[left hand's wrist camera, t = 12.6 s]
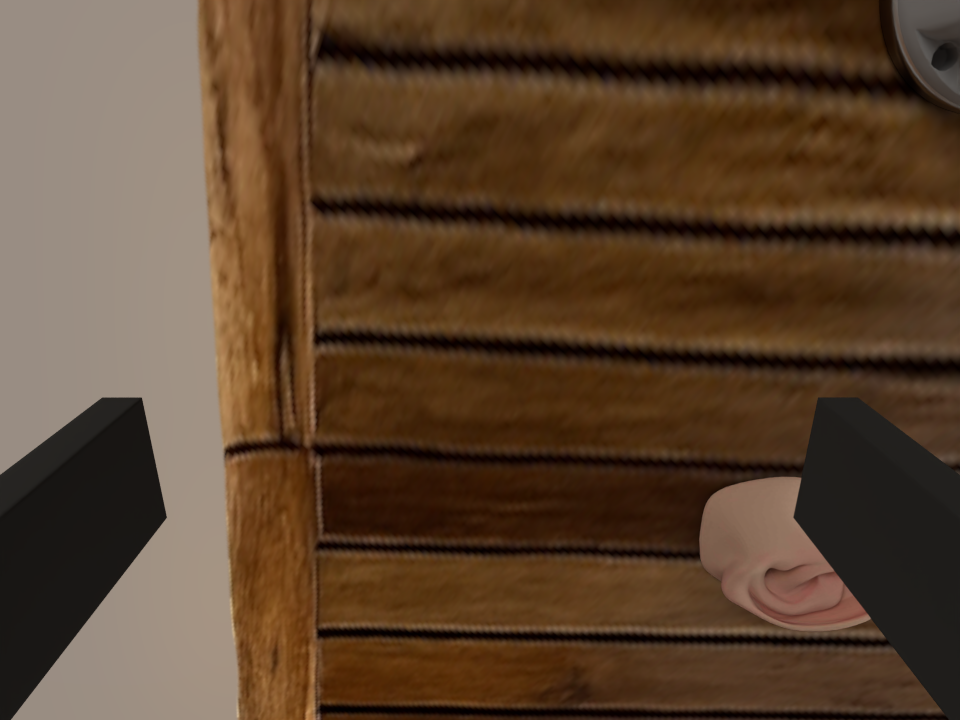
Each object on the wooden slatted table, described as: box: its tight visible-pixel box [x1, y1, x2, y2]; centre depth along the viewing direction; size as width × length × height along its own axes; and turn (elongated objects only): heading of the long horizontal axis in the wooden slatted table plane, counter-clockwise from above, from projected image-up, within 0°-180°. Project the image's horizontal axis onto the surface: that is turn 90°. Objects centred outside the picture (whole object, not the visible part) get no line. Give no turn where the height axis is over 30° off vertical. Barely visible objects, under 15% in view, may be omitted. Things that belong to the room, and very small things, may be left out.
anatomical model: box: [699, 477, 871, 631], centre depth 47 cm, size 13×4×12 cm
